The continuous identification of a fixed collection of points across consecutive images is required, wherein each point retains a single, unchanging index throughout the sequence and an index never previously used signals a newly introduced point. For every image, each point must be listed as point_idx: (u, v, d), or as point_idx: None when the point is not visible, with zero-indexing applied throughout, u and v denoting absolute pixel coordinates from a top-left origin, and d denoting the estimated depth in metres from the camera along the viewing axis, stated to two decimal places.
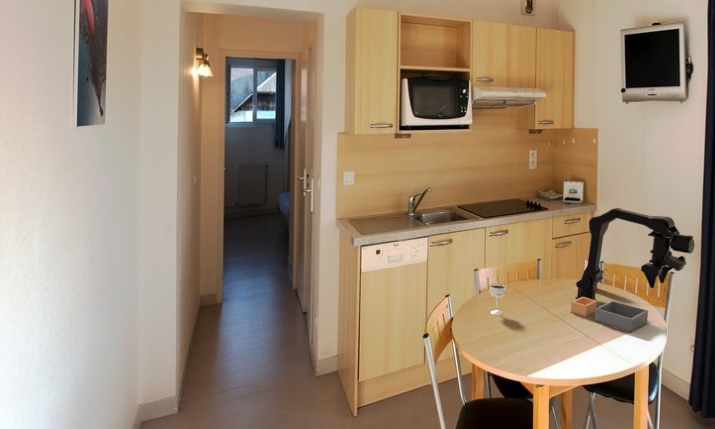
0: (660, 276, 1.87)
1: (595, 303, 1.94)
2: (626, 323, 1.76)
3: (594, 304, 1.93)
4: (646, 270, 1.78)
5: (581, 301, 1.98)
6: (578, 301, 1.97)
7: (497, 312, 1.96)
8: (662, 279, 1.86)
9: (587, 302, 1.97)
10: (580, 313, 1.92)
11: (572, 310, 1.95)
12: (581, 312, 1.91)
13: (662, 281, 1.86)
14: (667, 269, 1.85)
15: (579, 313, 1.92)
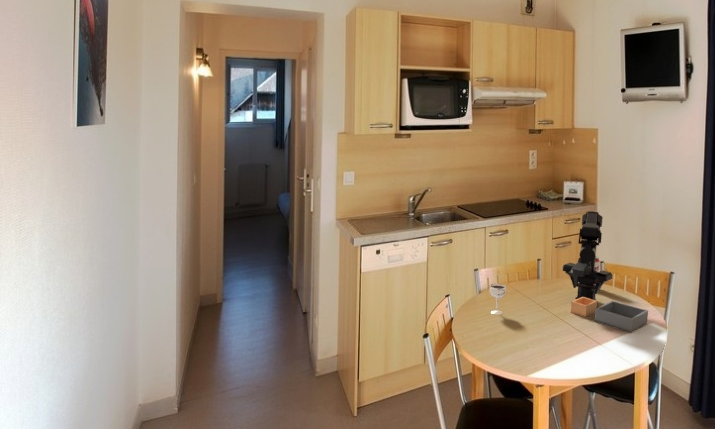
0: None
1: (595, 303, 1.94)
2: (626, 323, 1.76)
3: (594, 304, 1.93)
4: None
5: (581, 301, 1.98)
6: (578, 301, 1.97)
7: (497, 312, 1.96)
8: None
9: (587, 302, 1.97)
10: (580, 313, 1.92)
11: (572, 310, 1.95)
12: (581, 312, 1.91)
13: None
14: None
15: (579, 313, 1.92)
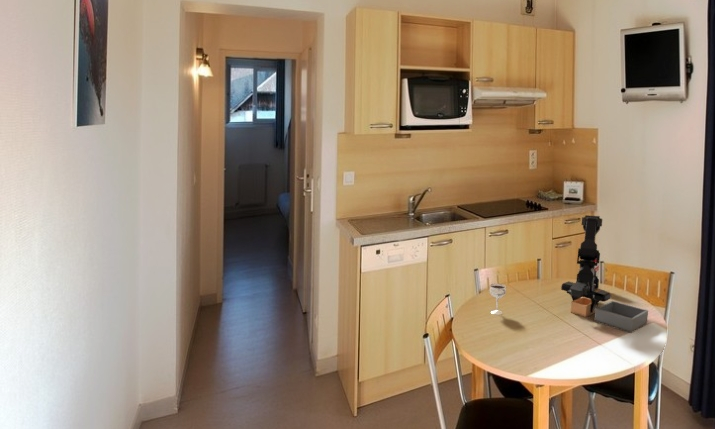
0: None
1: None
2: (626, 323, 1.76)
3: None
4: None
5: (581, 301, 1.98)
6: (578, 301, 1.97)
7: (497, 312, 1.96)
8: None
9: (587, 302, 1.97)
10: (580, 313, 1.92)
11: (572, 310, 1.95)
12: (581, 312, 1.91)
13: None
14: None
15: (579, 313, 1.92)
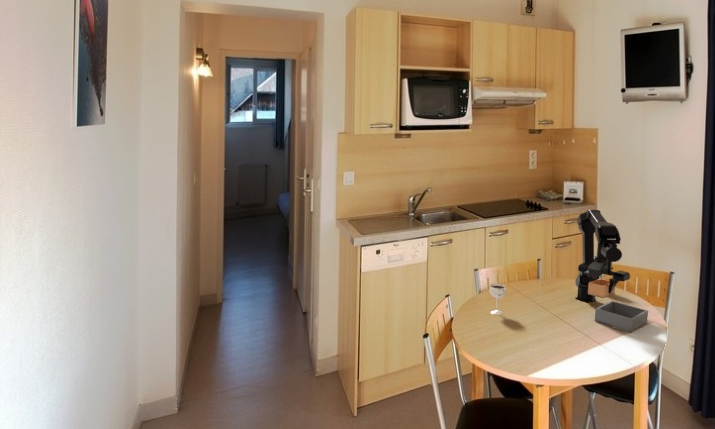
0: None
1: None
2: (626, 323, 1.76)
3: None
4: None
5: (599, 283, 1.91)
6: (595, 282, 1.90)
7: (497, 312, 1.96)
8: None
9: (605, 284, 1.90)
10: (598, 294, 1.85)
11: (589, 291, 1.88)
12: (599, 293, 1.84)
13: None
14: None
15: (597, 294, 1.85)
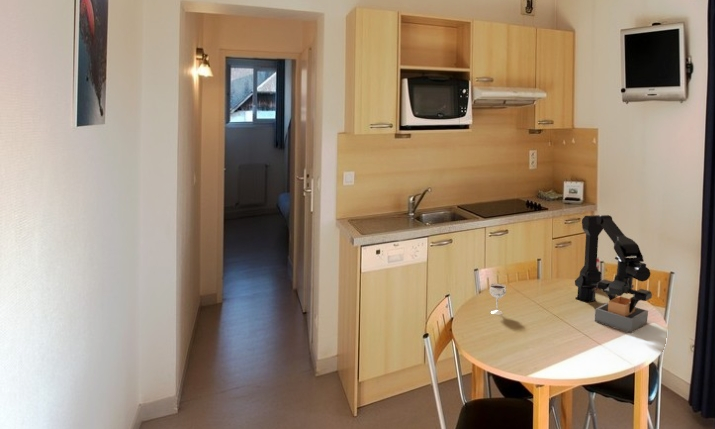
0: None
1: None
2: (626, 323, 1.76)
3: None
4: None
5: (618, 300, 1.87)
6: (615, 300, 1.85)
7: (497, 312, 1.96)
8: None
9: (624, 301, 1.86)
10: (618, 313, 1.80)
11: (609, 310, 1.83)
12: (619, 312, 1.80)
13: None
14: None
15: (617, 313, 1.81)
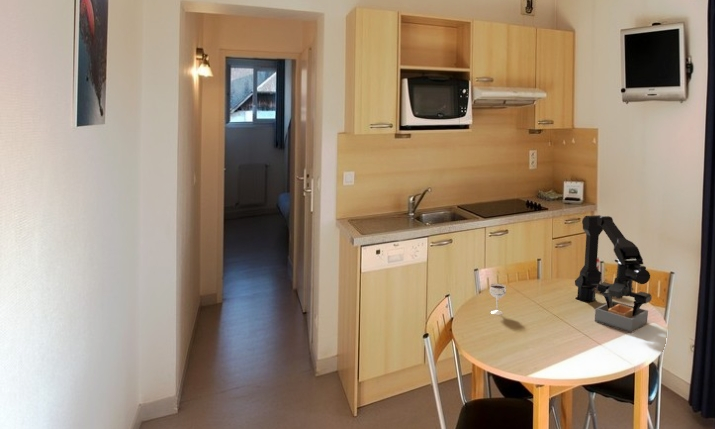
0: None
1: None
2: (626, 323, 1.76)
3: (632, 312, 1.83)
4: None
5: (617, 309, 1.88)
6: (614, 309, 1.86)
7: (497, 312, 1.96)
8: None
9: (624, 310, 1.87)
10: None
11: None
12: None
13: None
14: None
15: None
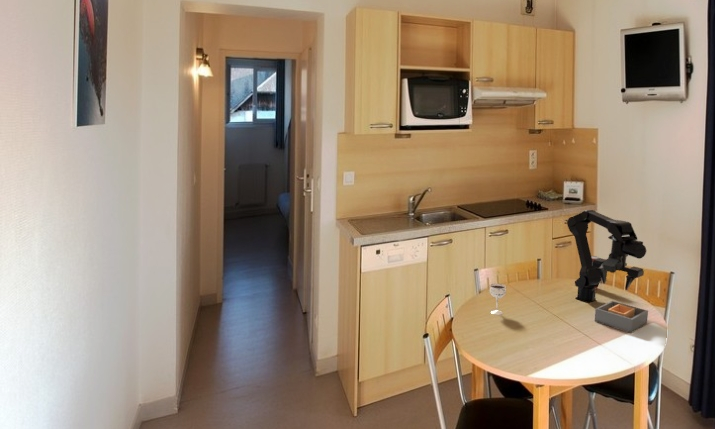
0: None
1: (633, 311, 1.83)
2: (626, 323, 1.76)
3: (632, 312, 1.83)
4: None
5: (617, 309, 1.88)
6: (614, 309, 1.86)
7: (497, 312, 1.96)
8: None
9: (624, 310, 1.87)
10: None
11: None
12: None
13: None
14: None
15: None
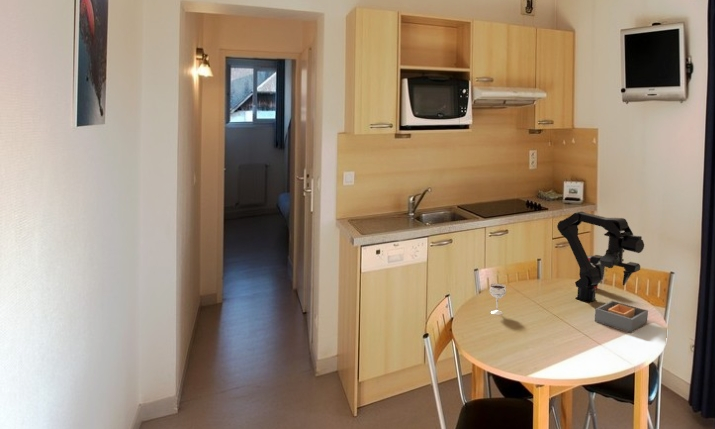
0: None
1: (633, 311, 1.83)
2: (626, 323, 1.76)
3: (632, 312, 1.83)
4: None
5: (617, 309, 1.88)
6: (614, 309, 1.86)
7: (497, 312, 1.96)
8: None
9: (624, 310, 1.87)
10: None
11: None
12: None
13: None
14: None
15: None
